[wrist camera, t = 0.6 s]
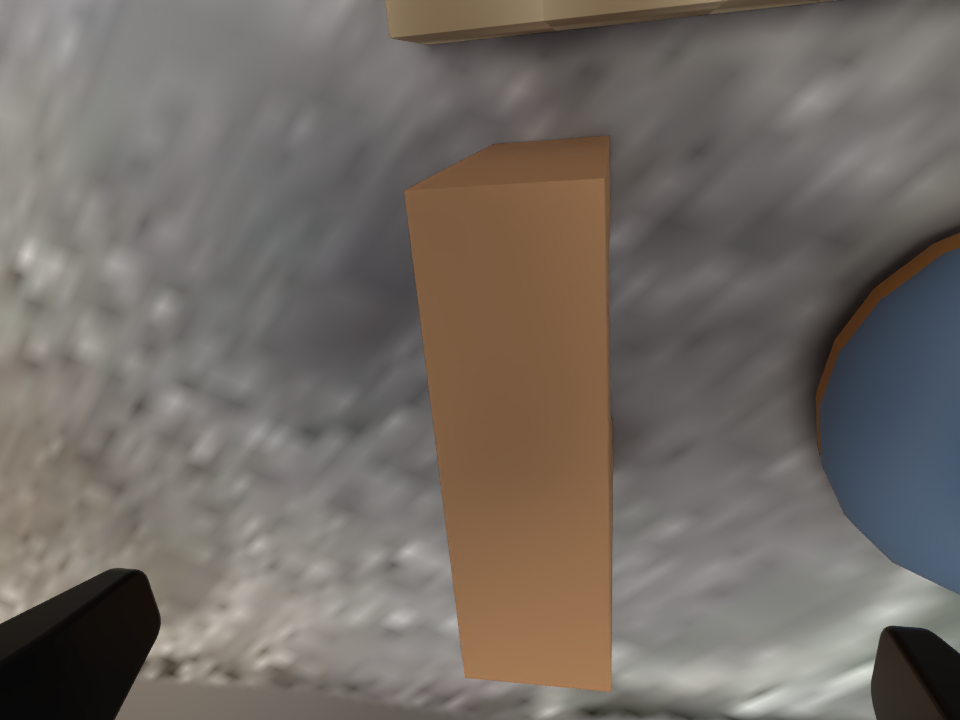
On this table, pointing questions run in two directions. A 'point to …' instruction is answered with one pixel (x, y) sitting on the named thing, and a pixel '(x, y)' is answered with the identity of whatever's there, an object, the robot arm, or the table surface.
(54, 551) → the table surface
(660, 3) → the rail
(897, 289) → the doughnut
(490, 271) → the tan wooden block
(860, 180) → the table surface
